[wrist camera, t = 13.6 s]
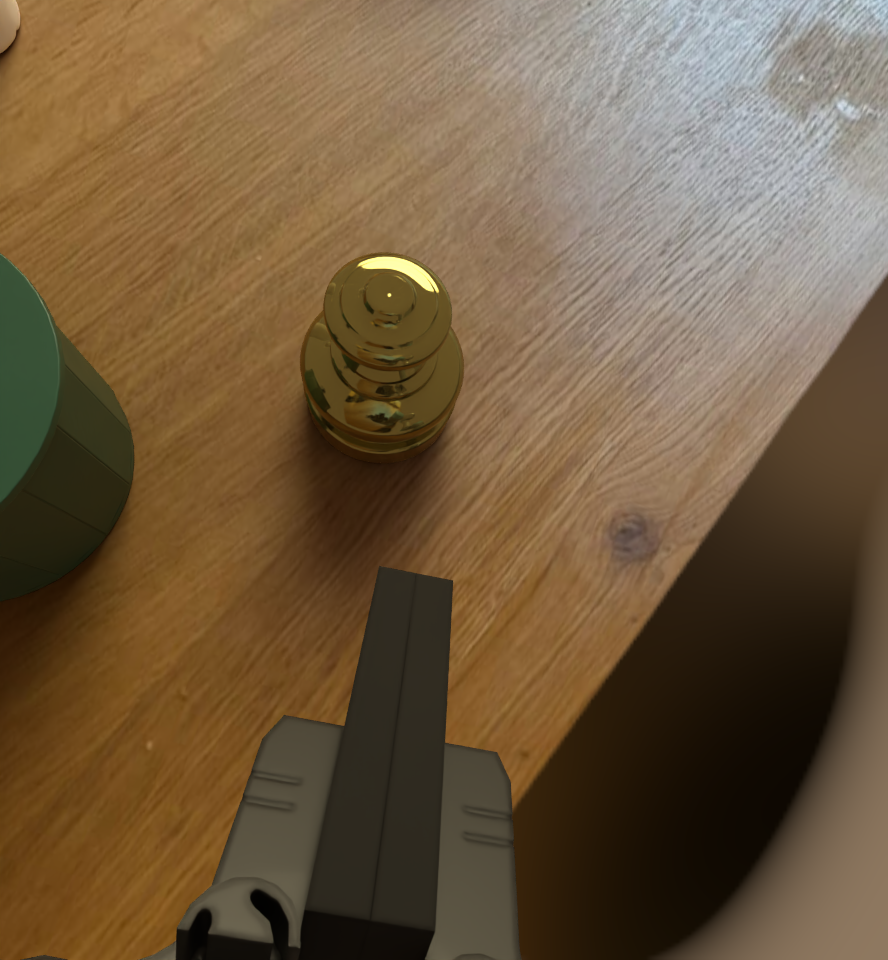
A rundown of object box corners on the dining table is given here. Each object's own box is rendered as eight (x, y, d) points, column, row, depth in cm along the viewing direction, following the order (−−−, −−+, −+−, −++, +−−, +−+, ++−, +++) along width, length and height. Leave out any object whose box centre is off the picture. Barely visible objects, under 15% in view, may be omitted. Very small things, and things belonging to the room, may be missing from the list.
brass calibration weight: (395, 495, 33) (412, 426, 23) (275, 408, 33) (243, 304, 24) (479, 386, 35) (526, 282, 26) (365, 306, 36) (369, 173, 26)
